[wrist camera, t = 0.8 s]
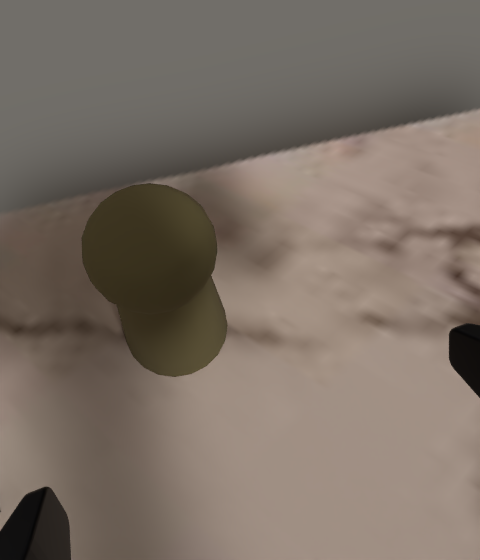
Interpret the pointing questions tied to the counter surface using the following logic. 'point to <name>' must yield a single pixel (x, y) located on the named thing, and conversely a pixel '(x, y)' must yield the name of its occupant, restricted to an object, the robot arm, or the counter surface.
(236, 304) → the counter surface
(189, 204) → the olive green peg
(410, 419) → the counter surface
